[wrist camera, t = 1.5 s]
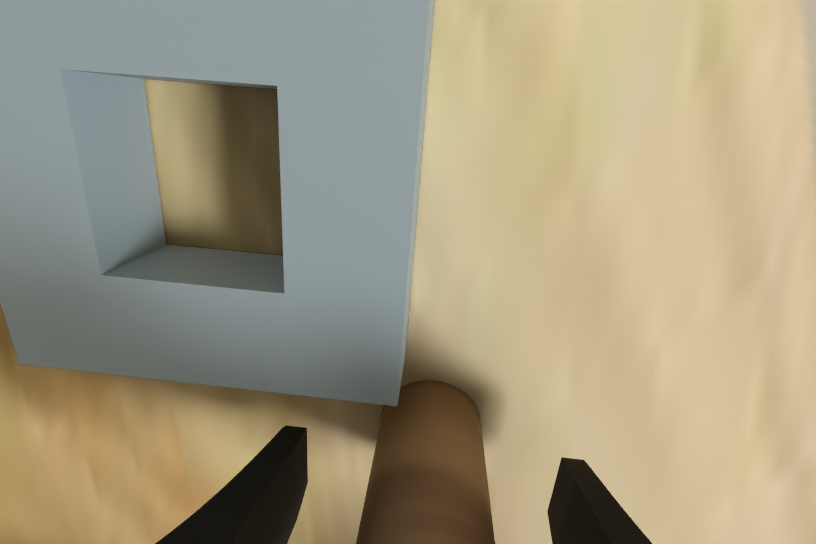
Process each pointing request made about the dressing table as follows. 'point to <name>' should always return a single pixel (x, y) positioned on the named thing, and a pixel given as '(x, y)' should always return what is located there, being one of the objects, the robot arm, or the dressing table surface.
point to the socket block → (141, 207)
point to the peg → (428, 472)
